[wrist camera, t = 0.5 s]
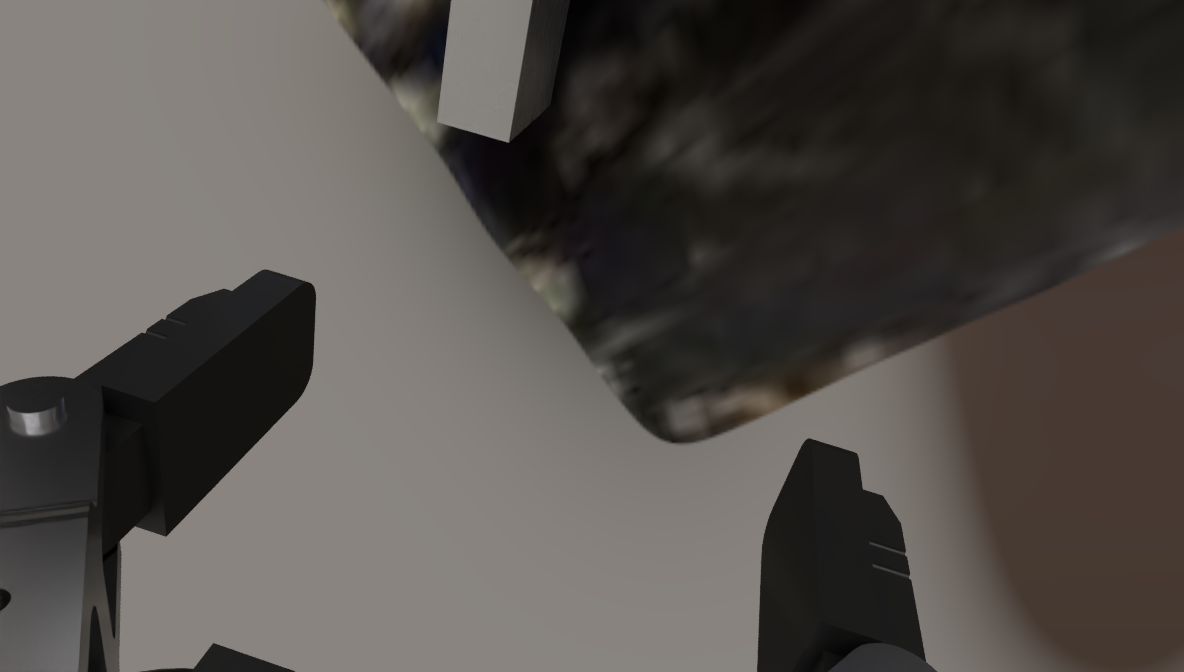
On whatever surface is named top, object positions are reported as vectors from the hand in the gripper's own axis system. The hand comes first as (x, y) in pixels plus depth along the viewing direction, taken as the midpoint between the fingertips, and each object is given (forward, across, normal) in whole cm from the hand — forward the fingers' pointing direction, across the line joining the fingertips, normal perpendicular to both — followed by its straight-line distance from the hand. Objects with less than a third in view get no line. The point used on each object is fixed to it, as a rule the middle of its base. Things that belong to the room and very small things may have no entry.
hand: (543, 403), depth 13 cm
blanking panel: (+24, +7, -1) cm, 25 cm away
